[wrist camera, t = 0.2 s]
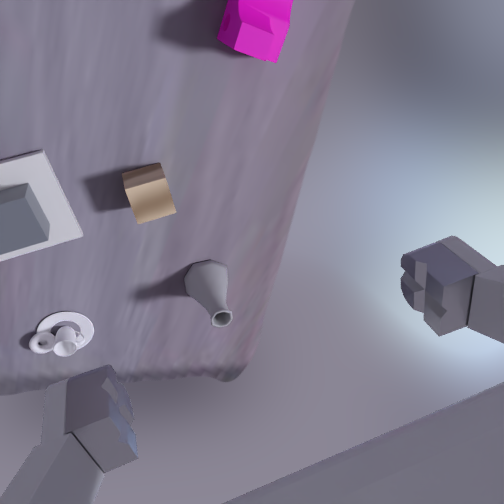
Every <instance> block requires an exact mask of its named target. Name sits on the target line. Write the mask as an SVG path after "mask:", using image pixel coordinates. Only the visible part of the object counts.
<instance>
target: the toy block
mask: <svg viewBox="0 0 504 504" xmlns="http://www.w3.org/2000/svg"><path fill="white" fill-rule="evenodd" d="M292 3H293V0H228V2H227V6H226V9H225V12H224V16H223V19H222V23H221V26H220V30H219V33H218V36H217V39H218V40H219V41H221V42H223V43H224V44H226V45H227V46H229V47H231V48H232V49H234V50H236V51H239V52H242V53H244V54H247V55H250V56H253V57H255V58H258V59H261V60H263V61H266V60H269V61H271V62H274V63H276V62H277V60H278V57H279V54H280V51H281V48H282V46H283V43H284V40H285V37H286V34H287V31H288V29H289V26H290V13H291V7H292Z"/></svg>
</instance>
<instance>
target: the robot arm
mask: <svg viewBox="0 0 504 504" xmlns="http://www.w3.org/2000/svg"><path fill="white" fill-rule="evenodd" d="M401 267H402V268H403V269H404V270H405V272H404V274H403V276H402V277H401V289H402V292H403V295H404V297H405V299H406V301H407V302H408V304H409V305H410V306H411V307H412V308H413V309H414V310H417V311H420V312H423V313H424V321H425V322H426V323H427V324H428V325H429V326H430V327H431V328H432V329H433V331H435V333H436V334H437V335H438V336H442V335H445V334H447V333H450V332H452V331H455V330H458V329H461V328H463V327H466V326H468V328H470V329H472V330H474V331H477V332H479V333H481V334H483V335H486V336H488V337H490V338H493V339H495V340H497V341H500V342H502V343H504V265H501V266H498V267H497V266H496V265H495V264H493V263H492V262H490V261H489V260H488V259H486V258H485V257H483V256H482V255H481V254H480V253H478V252H477V251H476V250H474V249H473V248H472V247H470V246H469V245H467V244H466V243H465V242H463V241H462V240H461V239H459V238H458V237H455V236H450V237H447V238H445V239H442V240H440V241H437V242H435V243H432V244H430V245H427V246H424V247H422V248H419V249H416V250H414V251H411V252H408V253H406V254H403V256H402V258H401ZM44 403H45V404H44V414H43V424H42V435H41V444H40V445H38V446H35V447H34V448H33V450H32V451H31V453H30V454H29V456H28V457H27V459H26V460H25V462H24V463H23V465H22V466H21V468H20V469H19V471H18V472H17V474H16V475H15V477H14V478H13V480H12V481H11V483H10V484H9V486H8V487H7V489H6V490H5V492H4V493H3V495H2V496H1V498H0V504H93V503H94V500H95V498H96V496H97V493H98V491H99V488H100V486H101V484H102V481H103V479H104V476H105V475H104V473H106V472H108V471H111V470H113V469H115V468H117V467H120V466H122V465H125V464H127V463H129V462H131V461H134V460H136V459H138V453H137V443H136V434H135V433H134V431H133V430H132V428H131V424H132V422H133V420H134V416H133V408H132V405H131V402H130V398H129V395H128V393H127V390H126V389H125V387H124V385H123V384H121V383H118V382H117V375H116V372H115V370H114V369H113V367H112V366H111V365H105V366H102V367H99V368H96V369H94V370H91V371H88V372H85V373H82V374H79V375H76V376H73V377H70V378H69V379H66V380H63V381H60V382H57V383H54V384H51V385H49V386H48V388H47V390H46V392H45V402H44ZM223 504H504V382H503V383H500V384H498V385H496V386H494V387H491V388H489V389H486V390H484V391H482V392H479V393H478V394H475V395H473V396H470V397H468V398H466V399H463V400H461V401H459V402H457V403H454V404H452V405H449V406H447V407H445V408H443V409H440V410H438V411H436V412H433V413H431V414H429V415H426V416H424V417H422V418H419V419H417V420H415V421H412V422H410V423H408V424H405V425H403V426H401V427H399V428H396V429H394V430H392V431H389V432H387V433H385V434H383V435H380V436H378V437H375V438H373V439H371V440H369V441H366V442H364V443H362V444H360V445H357V446H355V447H352V448H350V449H348V450H345V451H343V452H341V453H338V454H336V455H334V456H332V457H329V458H327V459H325V460H322V461H320V462H318V463H315V464H313V465H311V466H308V467H306V468H304V469H301V470H299V471H297V472H294V473H292V474H290V475H287V476H285V477H283V478H280V479H278V480H276V481H274V482H271V483H269V484H267V485H264V486H262V487H260V488H257V489H255V490H253V491H250V492H248V493H246V494H243V495H241V496H239V497H236V498H234V499H232V500H230V501H227V502H225V503H223Z"/></svg>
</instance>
